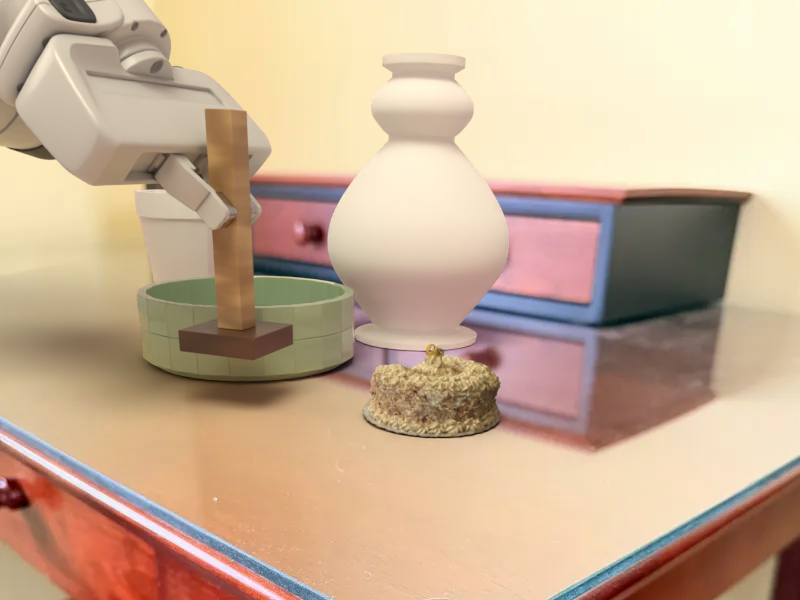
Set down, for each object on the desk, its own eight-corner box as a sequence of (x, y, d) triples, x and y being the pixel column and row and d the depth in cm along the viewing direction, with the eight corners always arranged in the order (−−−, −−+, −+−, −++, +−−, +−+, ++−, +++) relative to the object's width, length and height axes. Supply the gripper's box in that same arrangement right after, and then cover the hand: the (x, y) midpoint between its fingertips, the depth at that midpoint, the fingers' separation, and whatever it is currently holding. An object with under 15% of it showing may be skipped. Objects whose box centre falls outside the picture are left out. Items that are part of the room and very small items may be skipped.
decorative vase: (322, 354, 76) (317, 42, 66) (334, 320, 92) (331, 64, 82) (513, 359, 77) (538, 49, 66) (491, 323, 93) (509, 70, 82)
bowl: (115, 381, 66) (105, 304, 63) (175, 335, 83) (169, 273, 80) (346, 387, 66) (345, 310, 63) (359, 339, 83) (359, 278, 80)
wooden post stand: (179, 351, 58) (159, 105, 52) (223, 336, 64) (210, 111, 57) (253, 360, 57) (243, 107, 50) (293, 344, 62) (288, 113, 55)
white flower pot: (191, 307, 97) (181, 188, 92) (251, 316, 93) (244, 192, 88) (129, 319, 90) (114, 190, 84) (191, 329, 86) (180, 194, 80)
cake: (528, 426, 59) (539, 353, 57) (430, 457, 53) (438, 377, 50) (431, 387, 65) (437, 319, 63) (333, 411, 59) (336, 337, 56)
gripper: (168, 103, 65) (282, 241, 67) (-37, 80, 48) (122, 268, 49) (213, 38, 62) (331, 184, 63) (11, -12, 45) (180, 191, 46)
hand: (239, 221), depth 56 cm, fingers closed on wooden post stand
